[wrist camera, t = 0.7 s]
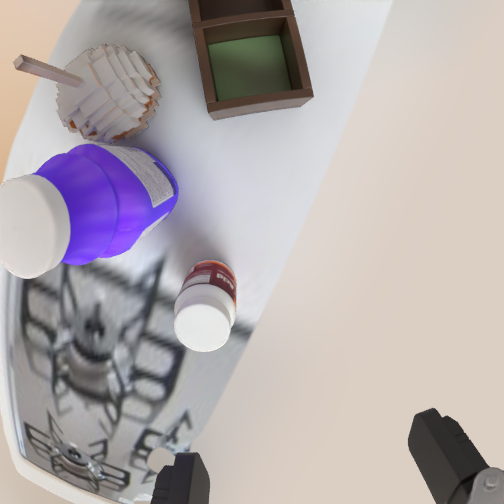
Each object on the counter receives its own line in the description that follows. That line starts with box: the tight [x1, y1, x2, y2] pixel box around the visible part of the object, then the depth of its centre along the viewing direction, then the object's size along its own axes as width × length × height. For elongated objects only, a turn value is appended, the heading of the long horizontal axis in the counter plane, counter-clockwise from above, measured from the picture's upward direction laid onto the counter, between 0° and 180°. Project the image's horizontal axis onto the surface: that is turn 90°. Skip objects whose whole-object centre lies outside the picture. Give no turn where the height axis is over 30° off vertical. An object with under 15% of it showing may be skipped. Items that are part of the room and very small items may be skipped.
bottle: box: [0, 144, 178, 279], centre depth 17 cm, size 7×6×17 cm
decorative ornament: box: [14, 44, 161, 143], centre depth 16 cm, size 8×8×15 cm
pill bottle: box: [174, 260, 236, 352], centre depth 25 cm, size 5×5×8 cm
